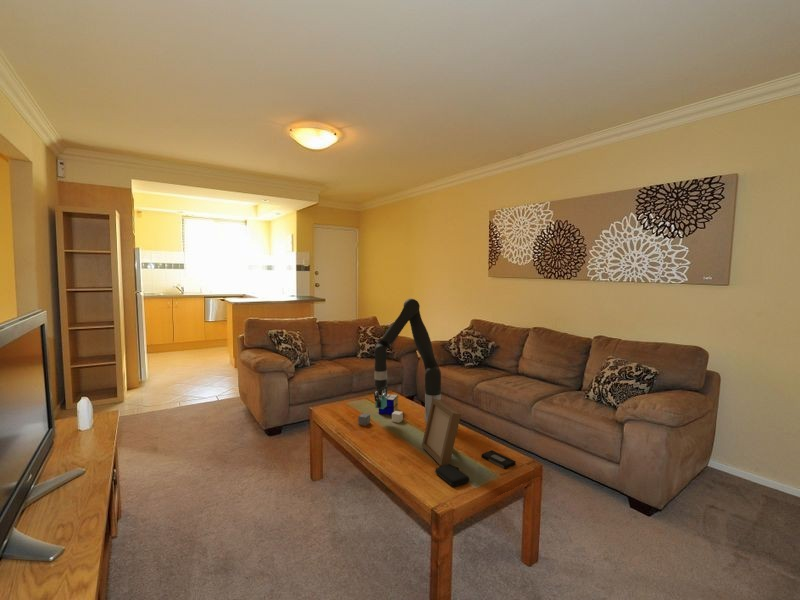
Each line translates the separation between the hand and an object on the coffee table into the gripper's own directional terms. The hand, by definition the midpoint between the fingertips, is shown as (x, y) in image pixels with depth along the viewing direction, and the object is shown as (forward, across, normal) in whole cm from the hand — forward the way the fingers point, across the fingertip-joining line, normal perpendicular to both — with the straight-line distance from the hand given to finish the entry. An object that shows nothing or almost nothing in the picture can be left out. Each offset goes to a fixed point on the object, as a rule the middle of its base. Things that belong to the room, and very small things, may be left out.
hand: (381, 405), depth 234 cm
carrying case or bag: (+11, -44, -56) cm, 72 cm away
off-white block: (+10, +6, -8) cm, 14 cm away
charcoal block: (+10, -6, +8) cm, 14 cm away
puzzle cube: (+10, +17, +3) cm, 20 cm away
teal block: (+1, 0, 0) cm, 1 cm away
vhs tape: (+11, -21, -72) cm, 75 cm away
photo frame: (+10, -25, -47) cm, 54 cm away
